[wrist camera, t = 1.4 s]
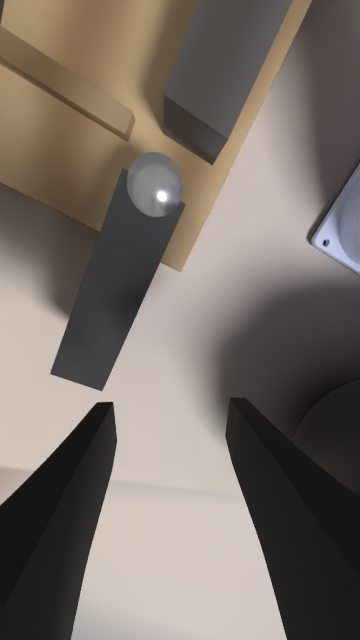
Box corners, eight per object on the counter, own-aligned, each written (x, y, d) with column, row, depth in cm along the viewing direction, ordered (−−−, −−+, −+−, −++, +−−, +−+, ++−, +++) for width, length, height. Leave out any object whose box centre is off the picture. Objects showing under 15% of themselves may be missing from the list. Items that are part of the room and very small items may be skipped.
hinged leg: (141, 164, 11) (133, 134, 8) (189, 193, 12) (198, 175, 9) (72, 348, 14) (49, 374, 11) (113, 363, 15) (101, 392, 12)
